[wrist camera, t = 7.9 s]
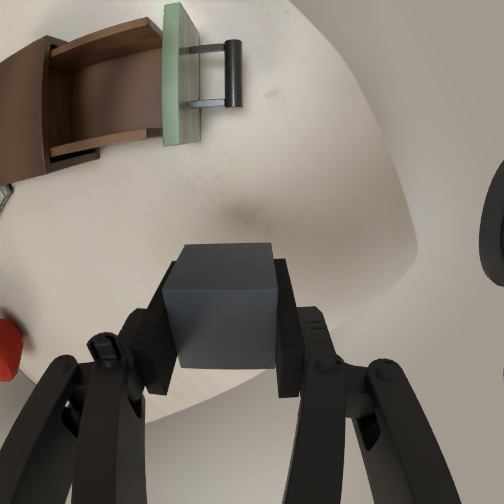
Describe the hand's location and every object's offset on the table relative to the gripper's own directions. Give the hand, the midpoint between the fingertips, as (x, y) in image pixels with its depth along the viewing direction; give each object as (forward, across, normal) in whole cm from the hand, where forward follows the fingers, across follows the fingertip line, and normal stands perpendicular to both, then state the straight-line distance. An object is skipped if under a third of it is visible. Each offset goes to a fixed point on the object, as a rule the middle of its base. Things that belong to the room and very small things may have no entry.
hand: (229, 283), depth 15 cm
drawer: (+14, -9, +13) cm, 21 cm away
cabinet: (+15, -23, +13) cm, 30 cm away
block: (0, 0, 0) cm, 0 cm away
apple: (+15, -45, -20) cm, 51 cm away
